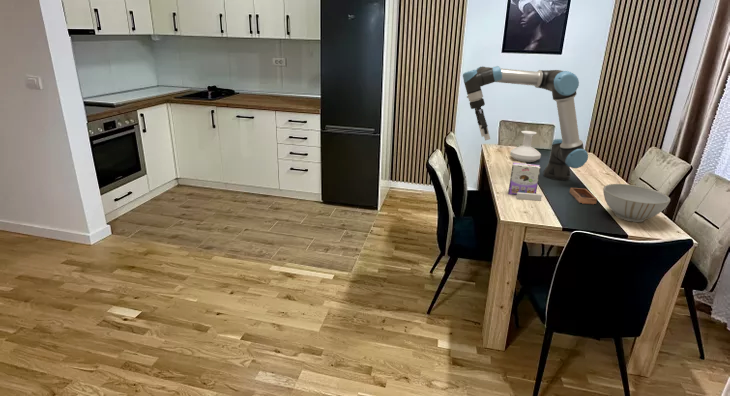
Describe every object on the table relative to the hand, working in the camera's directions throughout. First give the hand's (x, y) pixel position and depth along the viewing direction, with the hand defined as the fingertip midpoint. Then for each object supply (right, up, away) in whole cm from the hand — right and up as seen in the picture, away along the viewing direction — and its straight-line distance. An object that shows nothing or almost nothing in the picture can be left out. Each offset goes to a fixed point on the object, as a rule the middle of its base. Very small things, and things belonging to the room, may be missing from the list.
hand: (485, 137), depth 231 cm
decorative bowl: (+59, -42, -30) cm, 79 cm away
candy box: (+17, -31, -5) cm, 36 cm away
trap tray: (+48, -33, -8) cm, 59 cm away
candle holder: (+44, -7, +62) cm, 76 cm away
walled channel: (+19, -31, -6) cm, 37 cm away
